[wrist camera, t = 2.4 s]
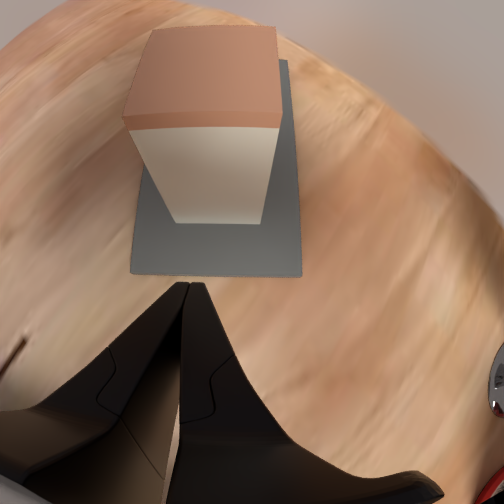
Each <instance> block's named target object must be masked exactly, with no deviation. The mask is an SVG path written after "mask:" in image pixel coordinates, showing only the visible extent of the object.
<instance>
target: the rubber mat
mask: <svg viewBox="0 0 504 504" xmlns="http://www.w3.org/2000/svg"><path fill="white" fill-rule="evenodd" d="M279 71H280V83H281V96H282V111H283V114H282V119H281V124H280V129H279V134H278V139H277V144H276V148H275V153H274V158H273V163H272V168H271V173H270V178H269V183H268V188H267V193H266V198H265V203H264V208H263V213H262V217H261V222H260V224H204V223H175V221H174V219H173V217H172V215H171V214H170V212H169V210H168V208H167V206H166V204H165V202H164V200H163V198H162V196H161V195H160V193H159V191H158V189H157V187H156V185H155V183H154V181H153V179H152V177H151V175H150V173H149V171H148V169H147V167H146V165H145V163H144V169H143V174H142V180H141V186H140V193H139V199H138V206H137V213H136V221H135V229H134V238H133V247H132V257H131V268H130V273H132V274H140V275H172V276H214V277H301V276H302V250H301V227H300V207H299V189H298V173H297V159H296V146H295V133H294V122H293V111H292V100H291V90H290V80H289V71H288V62H287V60H280V59H279Z"/></svg>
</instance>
